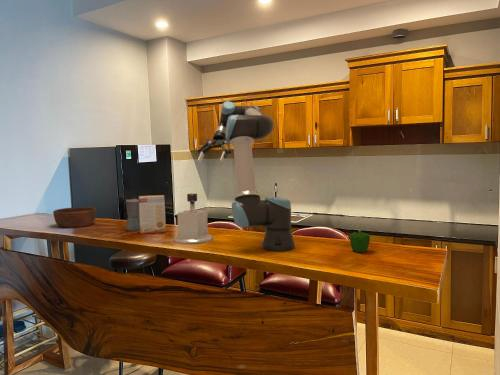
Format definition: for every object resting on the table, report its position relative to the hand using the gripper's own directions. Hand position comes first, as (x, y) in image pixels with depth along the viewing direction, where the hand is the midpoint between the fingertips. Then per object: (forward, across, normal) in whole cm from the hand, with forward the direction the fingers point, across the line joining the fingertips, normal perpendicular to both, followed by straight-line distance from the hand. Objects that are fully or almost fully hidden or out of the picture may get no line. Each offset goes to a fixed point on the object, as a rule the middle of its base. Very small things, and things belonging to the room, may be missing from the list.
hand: (210, 161), depth 201 cm
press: (+40, +2, -16) cm, 43 cm away
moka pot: (+31, +50, -26) cm, 64 cm away
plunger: (+39, +2, -15) cm, 42 cm away
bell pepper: (+40, -80, -16) cm, 91 cm away
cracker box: (+33, +33, -23) cm, 52 cm away
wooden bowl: (+29, +96, -27) cm, 104 cm away
